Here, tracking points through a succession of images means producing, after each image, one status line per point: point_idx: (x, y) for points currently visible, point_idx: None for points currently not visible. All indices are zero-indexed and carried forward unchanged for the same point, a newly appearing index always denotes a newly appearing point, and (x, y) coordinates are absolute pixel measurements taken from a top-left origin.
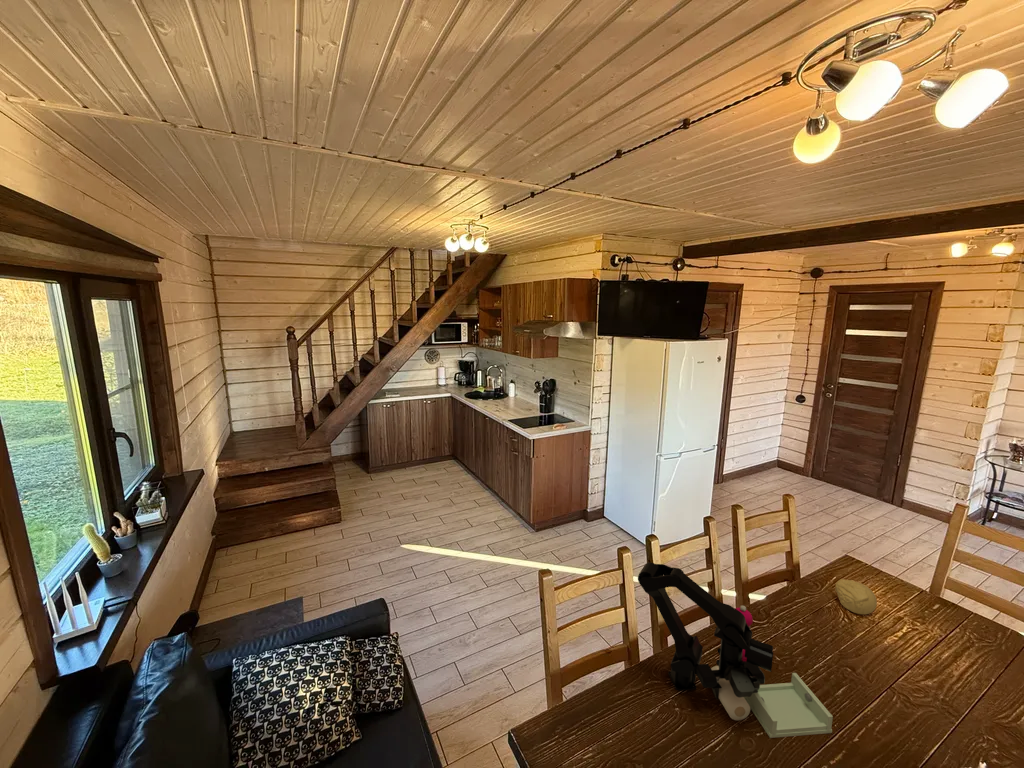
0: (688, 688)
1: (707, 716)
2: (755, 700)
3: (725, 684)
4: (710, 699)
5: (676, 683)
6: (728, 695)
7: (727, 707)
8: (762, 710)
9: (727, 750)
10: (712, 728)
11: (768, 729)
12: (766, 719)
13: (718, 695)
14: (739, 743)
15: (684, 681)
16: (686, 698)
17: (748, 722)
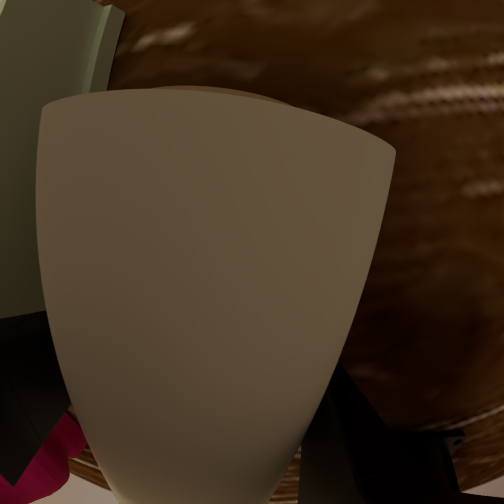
0: (412, 438)
1: (466, 259)
2: (10, 209)
3: (191, 480)
4: None
5: (447, 460)
6: (280, 355)
7: (386, 199)
8: (14, 105)
9: (481, 16)
10: (497, 166)
11: (92, 35)
12: (46, 50)
13: (330, 382)
14: (376, 3)
15: (436, 477)
16: (466, 392)
17: None
